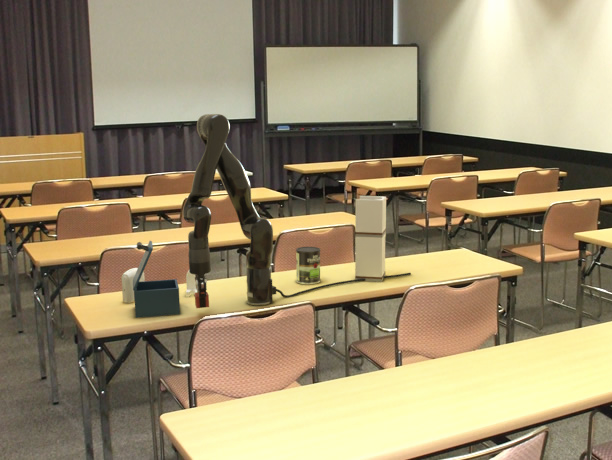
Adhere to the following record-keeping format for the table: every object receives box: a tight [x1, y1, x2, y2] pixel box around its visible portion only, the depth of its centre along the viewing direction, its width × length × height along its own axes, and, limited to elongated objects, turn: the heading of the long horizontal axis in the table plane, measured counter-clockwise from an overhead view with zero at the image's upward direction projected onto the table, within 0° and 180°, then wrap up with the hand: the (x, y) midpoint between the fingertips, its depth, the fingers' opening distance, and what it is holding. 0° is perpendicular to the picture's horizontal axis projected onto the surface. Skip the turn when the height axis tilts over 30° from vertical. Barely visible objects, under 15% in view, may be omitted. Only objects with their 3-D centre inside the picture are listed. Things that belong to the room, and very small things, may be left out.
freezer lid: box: [133, 240, 154, 291], centre depth 274 cm, size 16×14×5 cm
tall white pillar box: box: [354, 195, 387, 283], centre depth 323 cm, size 11×11×35 cm
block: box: [194, 291, 210, 309], centre depth 273 cm, size 4×4×4 cm
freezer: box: [134, 278, 181, 319], centre depth 278 cm, size 16×14×10 cm
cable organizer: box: [185, 270, 197, 298], centre depth 301 cm, size 5×10×10 cm, turn 4°
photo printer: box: [120, 267, 146, 304], centre depth 292 cm, size 10×4×12 cm, turn 158°
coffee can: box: [295, 246, 321, 285], centre depth 319 cm, size 10×10×14 cm
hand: (202, 305), depth 273 cm, fingers closed on block, 4 cm apart
